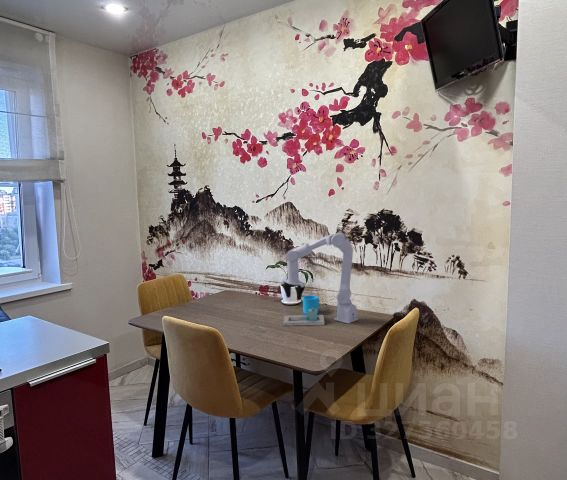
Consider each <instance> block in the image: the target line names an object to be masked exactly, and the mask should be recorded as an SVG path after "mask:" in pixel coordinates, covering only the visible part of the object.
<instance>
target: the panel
mask: <svg viewBox="0 0 567 480" xmlns="http://www.w3.org/2000/svg"><path fill="white" fill-rule="evenodd" d="M324 317H325V316H324V314H317V320H310V321H309V314H304V315H284V317H283V326H284V327H285V326H288V327H289V326H290V327H291V326H294V327H295V326H296V327H297V326H298V327H299V326H325V318H324Z"/></svg>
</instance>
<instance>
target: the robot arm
mask: <svg viewBox="0 0 567 480" xmlns="http://www.w3.org/2000/svg"><path fill="white" fill-rule="evenodd" d="M325 245H328V246H333V247H335V248H337V249H339V251H341V252H342V263H341V264H342V265H341V274H340V282H339V283H340V284H339V289H338V293H337V295H336V300H337V301H336V311H337V312H336V316H337V317H334V318H333V320H334V321H338V322H341V323H345V324H351V323H353V322H355V321H358V320H359V319H358V318H357V317H358V312H357V311H358V309H357V306H356V305H355V303H354V304H353V302H352V300H351V296H352V290H351V275H352V268H353V267H352V264H353V258H354V257H353V255H354V247H353V246H352V244H351V242H350V239H349V238H348V236H347V235H346V234H345V233H344V232H343V231H342V232H340V231H338V232H336V233H332V234H329V235H326V236H324V237H322V238H320V239H318V240H316V241H313V242H311V243H307V242H303V243H301V245H298V246H297V247H293V248H291V249H290V250H288V251H287V252H286V254H285V259H286V262H287V264H286V265H287V266H286V270H287V278H286V279H285V278H283V279H282V280H281V283H282V284H281V287H282V288H283V290H284V292H285V296H286V299H288V298H291V294H292V286H295V287H294V290H295V291H296V300H297V301H300V300H302V298H303V293H304V290H305V289H306V282H302V281H300V278H299V277H300V275H299V274H300V273H299V259H301V258H303V257H306V256H308V255H310V254H312V252H313V250H315V249H317V248H320V247H322V246H325Z"/></svg>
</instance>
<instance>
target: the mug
mask: <svg viewBox="0 0 567 480" xmlns="http://www.w3.org/2000/svg"><path fill="white" fill-rule="evenodd" d="M302 306H303V309H302V311H303V313H304V314H305V313H306V314H305V315H309V309H312V308H314V309H317V314H318V313H319V306H320V298H319V297H318V296H317V295H311V294H310V295H304V296H302Z"/></svg>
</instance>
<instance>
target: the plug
mask: <svg viewBox="0 0 567 480" xmlns="http://www.w3.org/2000/svg"><path fill="white" fill-rule="evenodd" d="M308 315H309V320H308V321H310V320H317V315H318V313H317V309H314V308H312V309H309V314H308Z"/></svg>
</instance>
